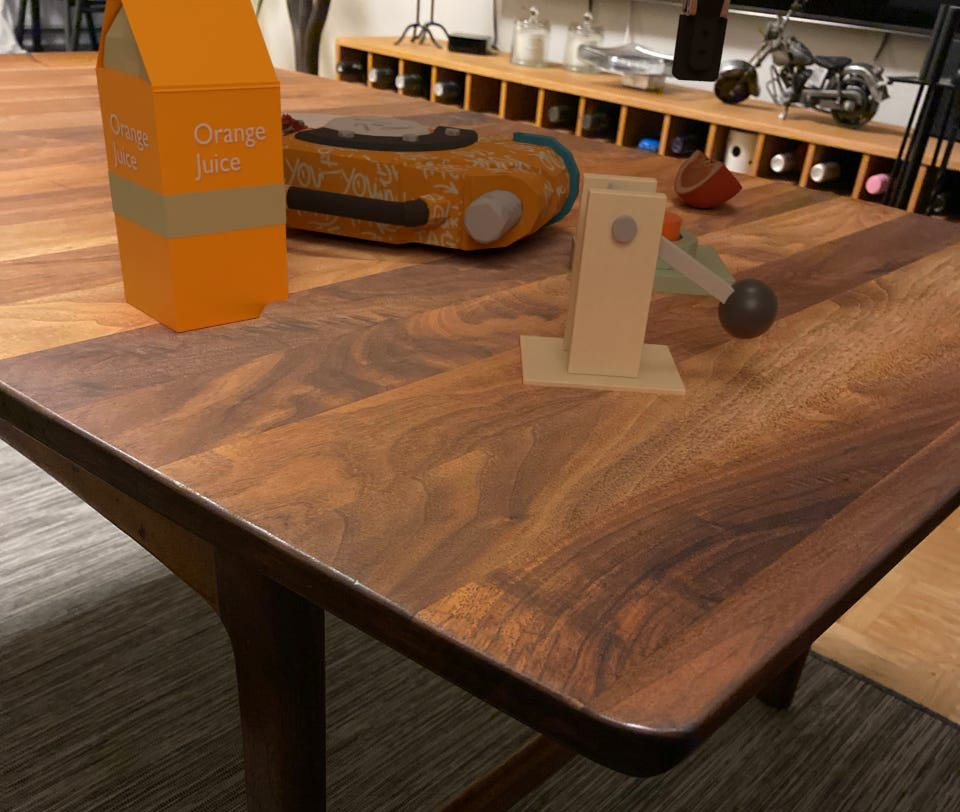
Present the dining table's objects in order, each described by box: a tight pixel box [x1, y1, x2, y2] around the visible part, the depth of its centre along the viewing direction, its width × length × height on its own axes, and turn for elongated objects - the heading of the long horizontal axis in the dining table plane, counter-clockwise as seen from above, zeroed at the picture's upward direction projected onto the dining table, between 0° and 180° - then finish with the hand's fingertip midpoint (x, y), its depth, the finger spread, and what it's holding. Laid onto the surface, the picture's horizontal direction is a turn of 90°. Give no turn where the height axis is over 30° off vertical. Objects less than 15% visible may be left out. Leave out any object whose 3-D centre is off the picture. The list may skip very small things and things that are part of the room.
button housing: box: [569, 228, 736, 297], centre depth 84 cm, size 12×10×4 cm
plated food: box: [281, 112, 349, 137], centre depth 117 cm, size 30×30×3 cm
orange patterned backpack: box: [282, 115, 581, 251], centre depth 90 cm, size 23×8×30 cm
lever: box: [606, 182, 779, 340], centre depth 62 cm, size 13×4×4 cm, turn 90°
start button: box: [661, 211, 683, 241], centre depth 82 cm, size 4×4×2 cm
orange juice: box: [94, 0, 289, 333], centre depth 67 cm, size 8×9×20 cm
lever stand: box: [519, 172, 687, 396], centre depth 63 cm, size 10×8×12 cm
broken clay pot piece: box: [673, 149, 743, 209], centre depth 108 cm, size 8×7×5 cm
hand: (694, 78), depth 76 cm, fingers closed
